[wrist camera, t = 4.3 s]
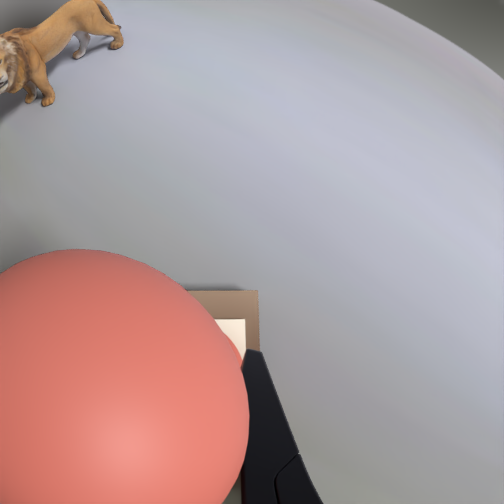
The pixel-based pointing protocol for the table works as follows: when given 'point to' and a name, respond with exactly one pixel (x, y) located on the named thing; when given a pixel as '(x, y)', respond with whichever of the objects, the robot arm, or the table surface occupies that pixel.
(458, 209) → the table surface
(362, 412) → the table surface
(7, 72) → the lion figurine
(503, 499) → the table surface
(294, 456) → the robot arm
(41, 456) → the pawn
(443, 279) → the table surface
